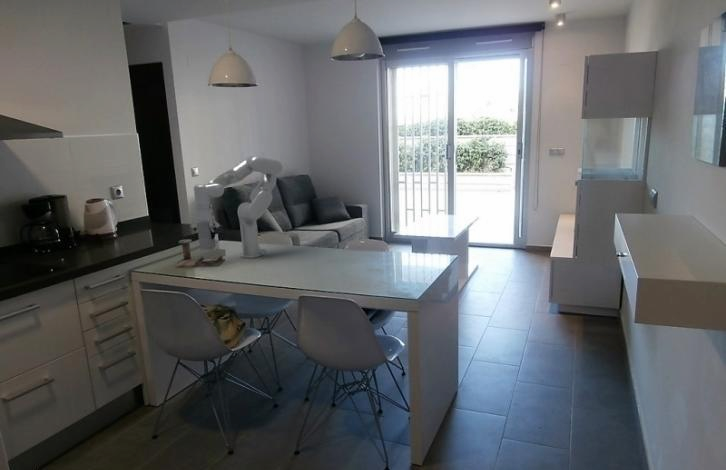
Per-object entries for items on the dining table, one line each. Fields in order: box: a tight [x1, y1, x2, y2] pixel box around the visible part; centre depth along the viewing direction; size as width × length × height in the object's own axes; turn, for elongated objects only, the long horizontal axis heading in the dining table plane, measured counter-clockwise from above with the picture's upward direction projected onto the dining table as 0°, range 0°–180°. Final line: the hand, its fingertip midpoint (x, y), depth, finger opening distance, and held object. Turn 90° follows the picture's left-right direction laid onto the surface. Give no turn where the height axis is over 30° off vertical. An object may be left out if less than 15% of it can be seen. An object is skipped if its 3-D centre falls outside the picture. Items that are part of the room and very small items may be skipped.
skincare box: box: [196, 221, 216, 251], centre depth 275 cm, size 8×7×16 cm
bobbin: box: [178, 238, 195, 262], centre depth 287 cm, size 7×7×12 cm
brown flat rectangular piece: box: [175, 255, 226, 269], centre depth 278 cm, size 24×12×3 cm, turn 88°
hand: (206, 238), depth 275 cm, fingers closed on skincare box, 6 cm apart
